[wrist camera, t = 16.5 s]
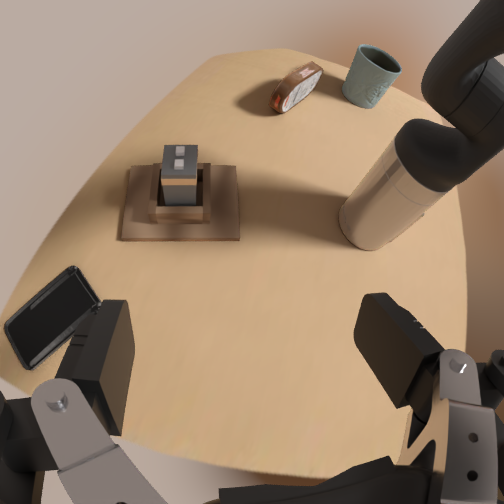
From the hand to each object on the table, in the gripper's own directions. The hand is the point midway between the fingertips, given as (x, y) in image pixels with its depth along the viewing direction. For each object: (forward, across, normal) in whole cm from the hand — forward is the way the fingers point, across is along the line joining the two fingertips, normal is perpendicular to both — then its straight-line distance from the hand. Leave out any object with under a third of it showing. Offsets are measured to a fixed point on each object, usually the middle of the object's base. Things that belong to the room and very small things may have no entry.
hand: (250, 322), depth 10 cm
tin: (+53, -16, -12) cm, 56 cm away
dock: (+36, +4, +5) cm, 36 cm away
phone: (+24, +22, +17) cm, 37 cm away
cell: (+35, +4, +4) cm, 35 cm away
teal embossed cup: (+57, -33, -16) cm, 68 cm away
